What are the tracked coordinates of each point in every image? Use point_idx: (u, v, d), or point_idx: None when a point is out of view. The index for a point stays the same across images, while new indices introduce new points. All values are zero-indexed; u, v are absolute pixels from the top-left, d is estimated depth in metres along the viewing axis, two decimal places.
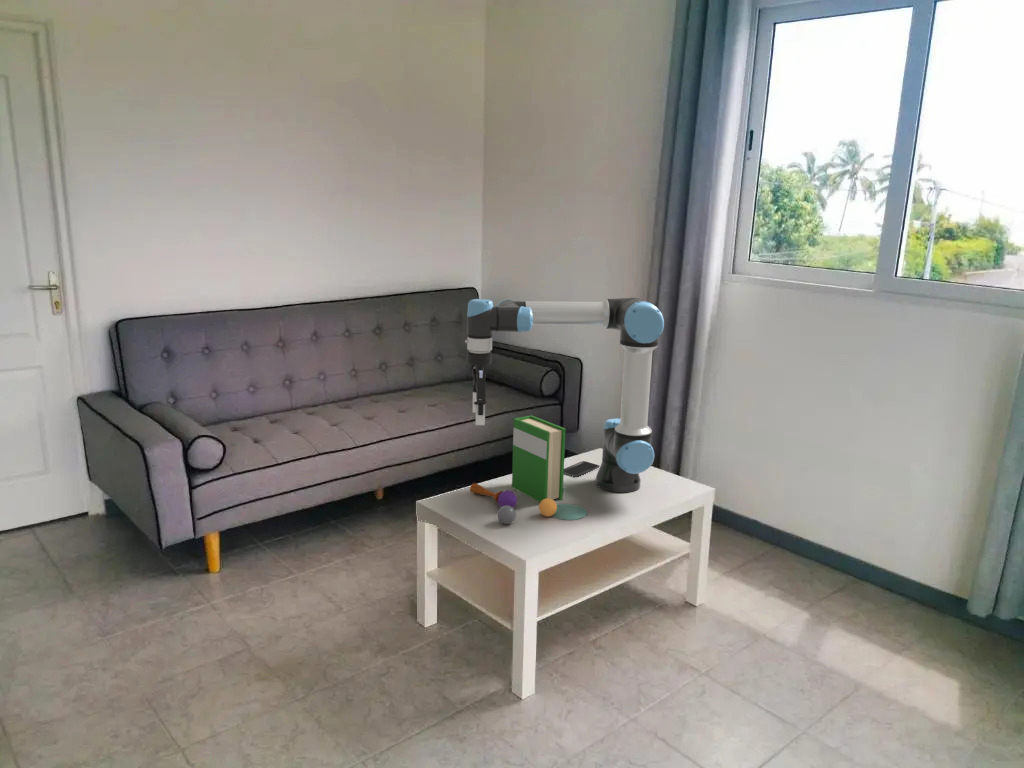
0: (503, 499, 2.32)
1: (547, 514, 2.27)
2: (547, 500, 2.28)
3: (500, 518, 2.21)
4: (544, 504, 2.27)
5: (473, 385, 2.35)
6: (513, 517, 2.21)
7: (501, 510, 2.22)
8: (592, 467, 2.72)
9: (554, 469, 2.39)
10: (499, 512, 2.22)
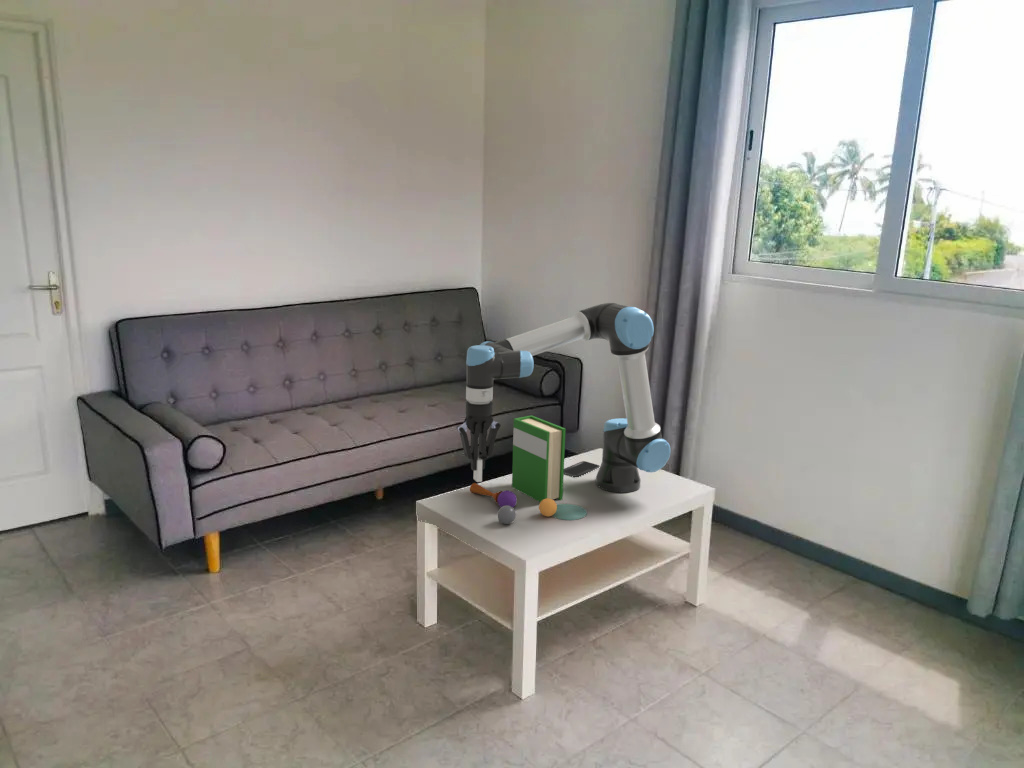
0: (503, 498, 2.32)
1: (547, 514, 2.27)
2: (547, 500, 2.28)
3: (500, 518, 2.21)
4: (544, 504, 2.27)
5: (475, 451, 2.12)
6: (513, 517, 2.21)
7: (501, 510, 2.22)
8: (592, 467, 2.72)
9: (554, 469, 2.39)
10: (499, 512, 2.22)
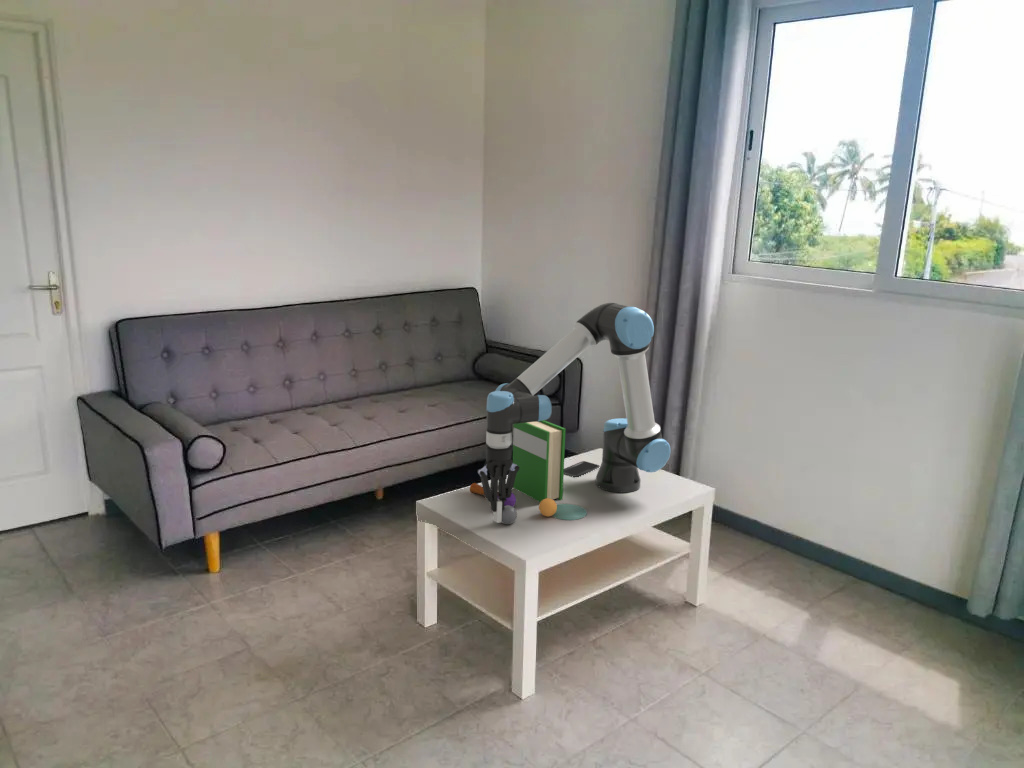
0: None
1: (547, 514, 2.27)
2: (547, 500, 2.28)
3: None
4: (544, 504, 2.27)
5: (495, 493, 2.18)
6: (514, 517, 2.22)
7: None
8: (592, 467, 2.72)
9: (554, 469, 2.39)
10: None
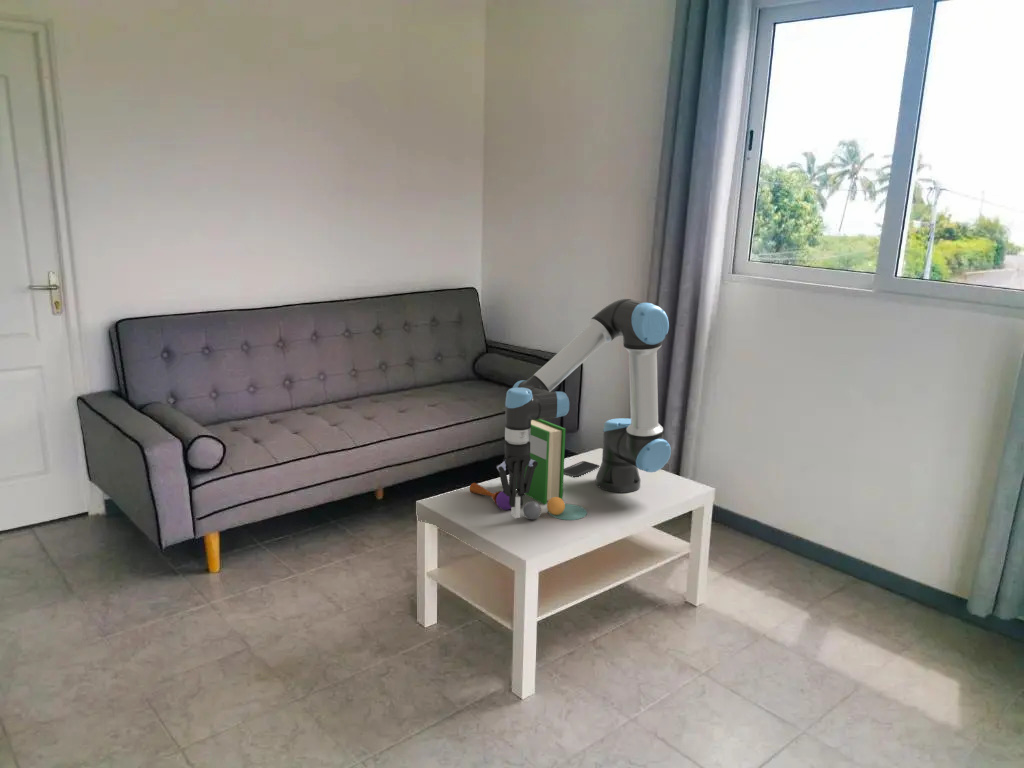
0: (501, 499, 2.32)
1: (554, 508, 2.28)
2: (562, 500, 2.30)
3: (539, 505, 2.26)
4: (558, 499, 2.29)
5: (513, 488, 2.21)
6: (533, 515, 2.24)
7: None
8: (592, 467, 2.72)
9: (554, 469, 2.39)
10: None
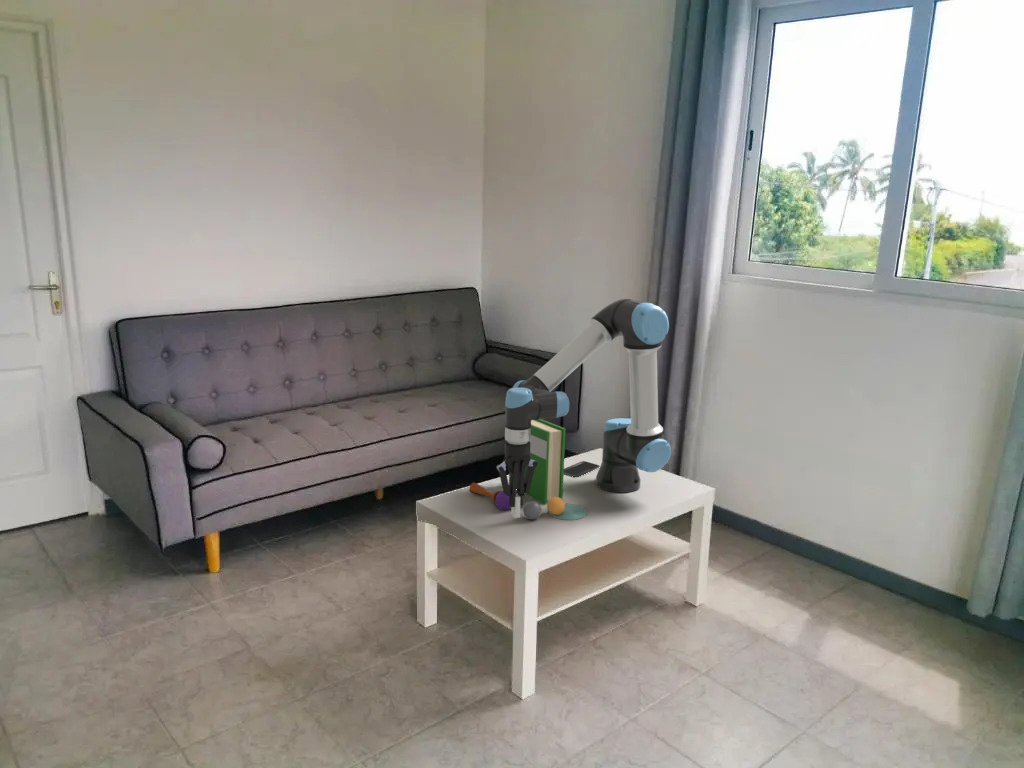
0: (500, 499, 2.32)
1: (554, 508, 2.28)
2: (562, 500, 2.30)
3: (539, 505, 2.26)
4: (558, 499, 2.29)
5: (513, 488, 2.21)
6: (533, 515, 2.24)
7: None
8: (592, 467, 2.72)
9: (554, 469, 2.39)
10: None
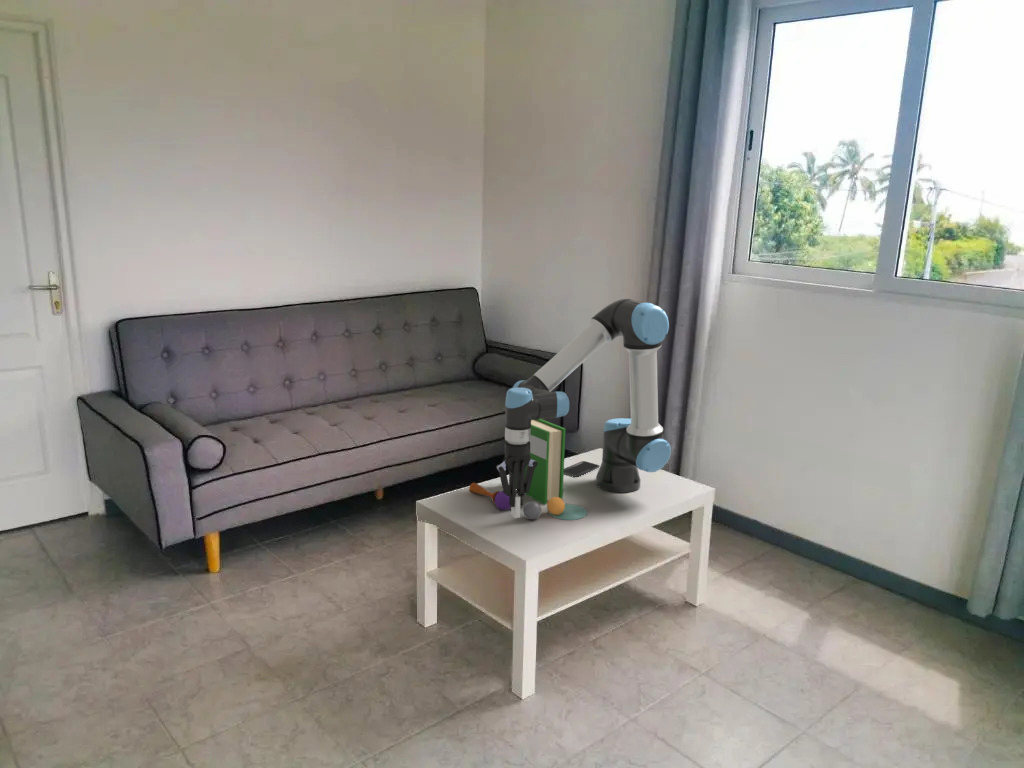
0: (499, 499, 2.32)
1: (554, 508, 2.28)
2: (562, 500, 2.30)
3: (539, 505, 2.26)
4: (558, 499, 2.29)
5: (513, 488, 2.21)
6: (533, 515, 2.24)
7: None
8: (592, 467, 2.72)
9: (554, 469, 2.39)
10: None
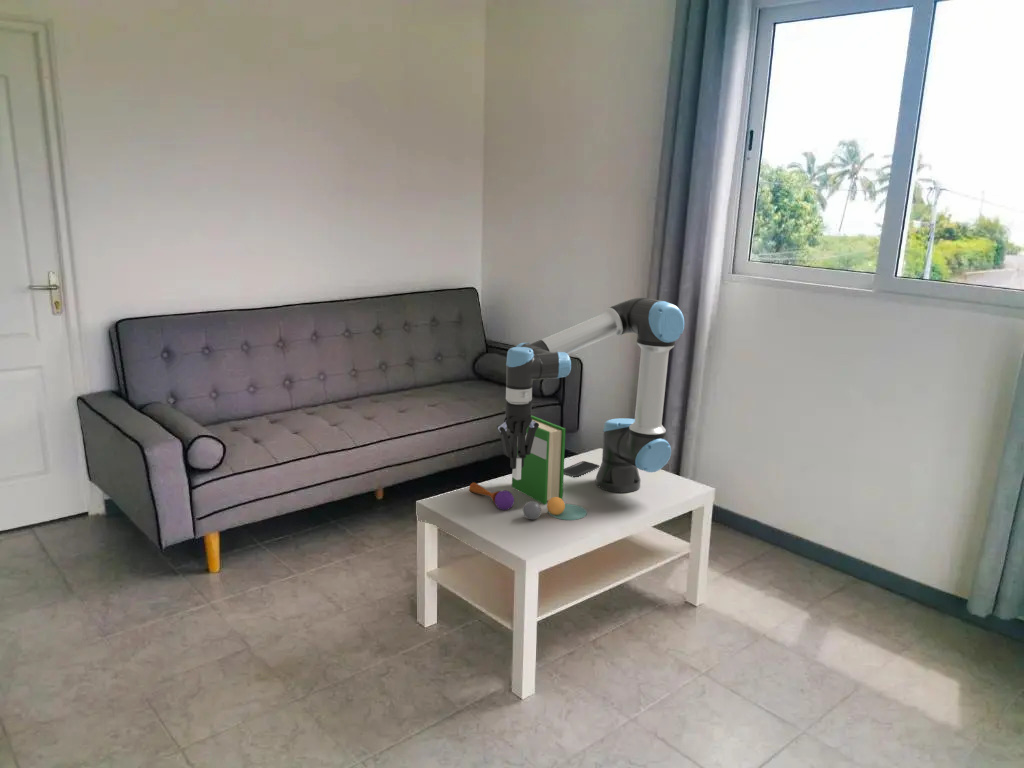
0: (499, 498, 2.32)
1: (554, 508, 2.28)
2: (562, 500, 2.30)
3: (539, 505, 2.26)
4: (558, 499, 2.29)
5: (514, 450, 2.18)
6: (533, 515, 2.24)
7: None
8: (592, 467, 2.72)
9: (554, 469, 2.39)
10: None
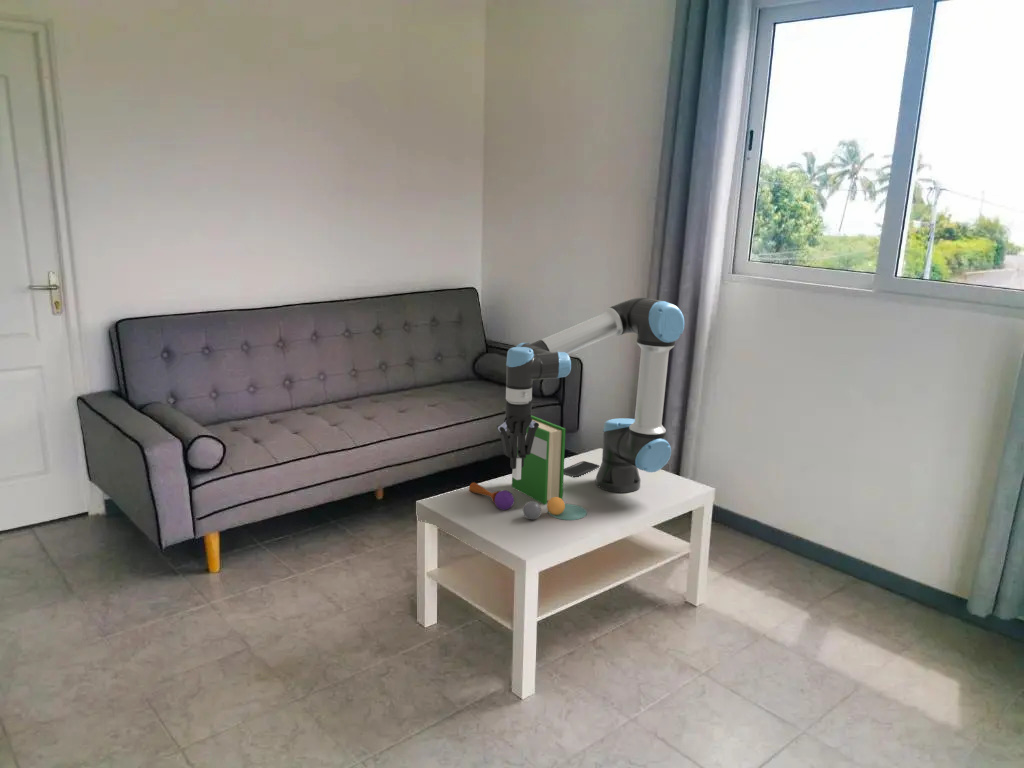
0: (499, 498, 2.32)
1: (554, 508, 2.28)
2: (562, 500, 2.30)
3: (539, 505, 2.26)
4: (558, 499, 2.29)
5: (514, 450, 2.18)
6: (533, 515, 2.24)
7: None
8: (592, 467, 2.72)
9: (554, 469, 2.39)
10: None
